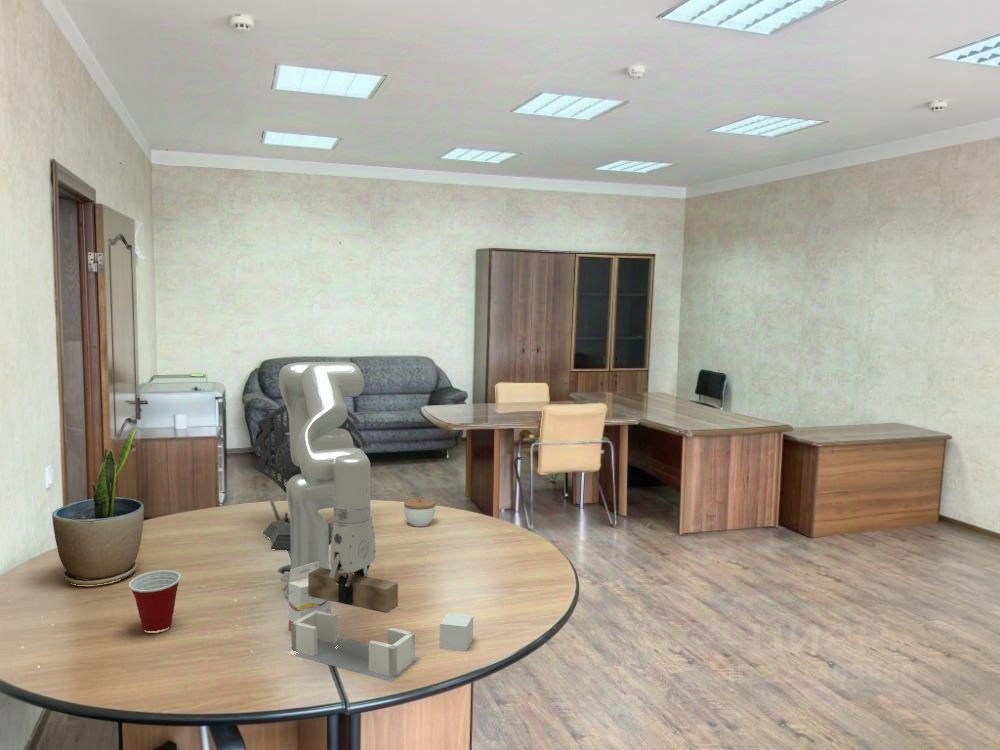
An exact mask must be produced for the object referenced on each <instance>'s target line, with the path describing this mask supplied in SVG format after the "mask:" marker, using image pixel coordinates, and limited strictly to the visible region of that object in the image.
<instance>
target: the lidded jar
mask: <svg viewBox="0 0 1000 750" xmlns="http://www.w3.org/2000/svg"><path fill="white" fill-rule="evenodd" d="M403 505H404V508H403V509H404V516H405V518H406V521H407V522H408V523H409V524H410V525H411V526H412V527H416V528H417V527H419V528H421V527H427V526H429V524H430V523H431V522H432V520H433V519H434V517H435V513H436V501H435V500H433V499H431V498H422V497H421V496H419V497H418V498H411V499H407V500H405V501H404V503H403Z"/></svg>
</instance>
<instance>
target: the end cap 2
mask: <svg viewBox="0 0 1000 750" xmlns="http://www.w3.org/2000/svg"><path fill="white" fill-rule="evenodd" d="M368 645H369V671H371V672H375V673H379V674H382V675H386V676H390V677H395V676H396V675H397V674H399V673H400V672H401V671H402V670H404V669H405V668H406V667H407V666H409V665H410V664H411V663H412V662H414V661H415V657H416V633H415V632H412V631H407V630H404V629H399V628H395V627H390V628H388V629H387V643H386V642H381V641H377V640H370V641H369V642H368Z"/></svg>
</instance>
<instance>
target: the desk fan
mask: <svg viewBox="0 0 1000 750" xmlns="http://www.w3.org/2000/svg"><path fill="white" fill-rule="evenodd" d="M285 411H286V421H284V412H285ZM347 413H348V415H347V419H346V420H345V422H344V423H343V424H342V425H341V426H340V427H338V428H340V429H345V430H347V431H348V432H349V433H350V435H351V437H352V440H353V445H355V446H356V448H359V449H361V450H362V451H363V452H364V451H365V449H366V448H368V447H369V443H368V442H367V440H366V439H365V437H364V436H363V434H362V433H361V432H360V431H359V430H358V428H357V427H358V426H359V424H360V422H361V420H360V419H358V417H356V415H355V414H354V413H352V412H351V411H350V410H348V409H347ZM279 415H280V419H279V420H280V422H279V423H278V416H279ZM347 425H348V426H347ZM259 426H260V427H261V428H262V433H260V434H259V436H258V437H257V438H256V439H255V441H254V442H253V444H252V446H251V447H250V449H251V451H253V452H255V453H257V454H258V455H259V456H260V459H259V461H258V463H257V464H256V466H255V470H256V471H258V472H259V473H261V474H262V475H264V476H266V477H267V478H268V479H270V480H272V481H273V482H274V484H276V485H277V486H278V487H279V488H281V489H282V491H283V492H284V494H286V495H287V493H286V486H287V483H288V481H289V479H290V478H292V477H293V476H295V475H297V474H301V469H300V467H298V466H296V465H295V464H294V463H293V461H292V458H291V451H290V432H289V415H288V411H287V407H286V405H285V404H284V405H282V406H281V407H278V408H277V409H274V410H273V411H271V412H270V413H269V414H268V415H267V416H265V417H264V419H262V420H261V421H260V422H259ZM272 434H273V436H274V437H273V439H274V440H273V441H274V444H273V445H274V448H273V446H272ZM273 456H274V463H272V459H273ZM272 473H273V474H272ZM327 524H328V529H329V545H331V539H332V531H333V525H332V524H331V523H329V522H327ZM263 534H265V535H266V536H267V537H269V538H270V540H271V541H270V540H269V541H270V543H271V542H272V544H271V545H270V546H271V547H270V550H271V549H275V550H287V551H286V552H291V534H290V517H289V513H288V512H286V513H284V517H281V518H279V519H277V520H275V521H272V522H270V524H269V525H268V526H267V527H266V528H265V530H263V531H262V535H263ZM266 536H265V537H266ZM267 537H266V538H267Z"/></svg>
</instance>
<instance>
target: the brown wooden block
mask: <svg viewBox="0 0 1000 750" xmlns="http://www.w3.org/2000/svg"><path fill="white" fill-rule="evenodd" d="M330 572H331V569H330V568H329V569H325V568H318V569H316V570H314V571H312V572H310V573H308V596H311V597H315V598H320V599H325V600H329V601H331V602H335V603H339V589H338V585H337V583H336V581H335V580H333V579H331V578H330V577H329V575H330ZM343 576H344V577H345V578H346V574H343ZM350 585H351V586H353V603H352V604H351V605H350V606H352V607H357V608H361V609H364V610H365V609H366V610H370V611H375V612H380V613H384V614H388V613H390V612H391V611H393V610H394V609H396V608H397V607H398V606H399V593H398V592H399V583H398V582H395V581H390V580H385V579H381V578H376V577H375V578H374V577H370V576H367V577H366V576H360V575H355V574H354V573H352V576H351V584H350ZM339 604H340V603H339Z"/></svg>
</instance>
